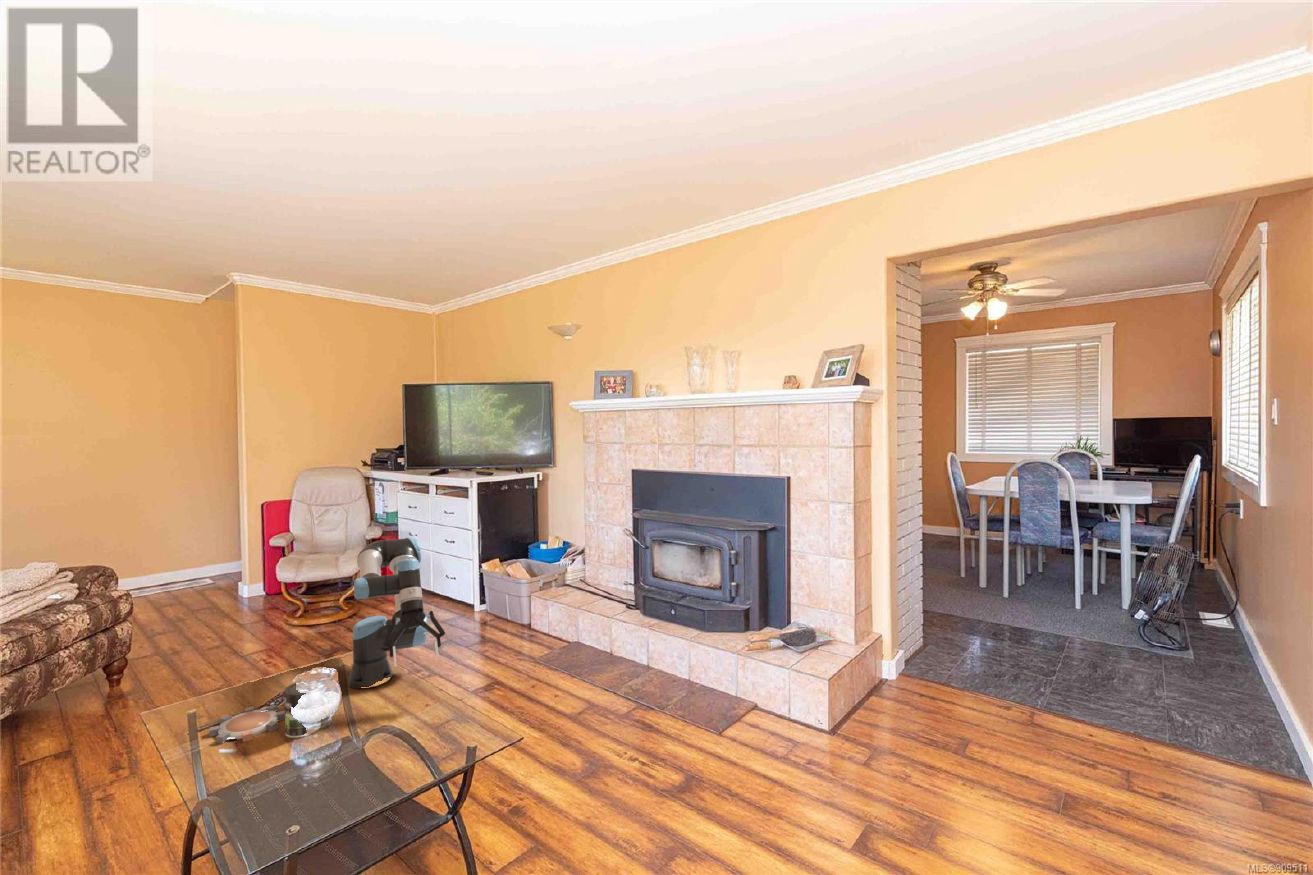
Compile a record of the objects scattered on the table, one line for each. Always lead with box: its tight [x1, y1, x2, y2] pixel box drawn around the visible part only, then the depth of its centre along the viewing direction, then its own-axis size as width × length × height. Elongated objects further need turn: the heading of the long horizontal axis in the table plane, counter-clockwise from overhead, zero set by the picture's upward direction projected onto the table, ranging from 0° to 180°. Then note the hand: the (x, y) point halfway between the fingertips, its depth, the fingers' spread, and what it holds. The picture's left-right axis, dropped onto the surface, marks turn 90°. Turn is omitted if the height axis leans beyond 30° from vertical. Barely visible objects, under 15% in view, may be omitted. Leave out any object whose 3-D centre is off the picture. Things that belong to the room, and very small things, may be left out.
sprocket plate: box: [208, 704, 285, 744], centre depth 193 cm, size 20×20×2 cm
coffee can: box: [283, 682, 308, 739], centre depth 191 cm, size 10×10×14 cm
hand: (416, 662), depth 207 cm, fingers open, 13 cm apart
